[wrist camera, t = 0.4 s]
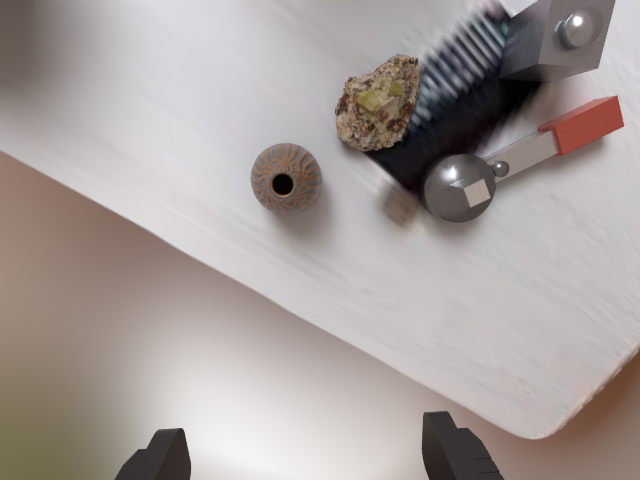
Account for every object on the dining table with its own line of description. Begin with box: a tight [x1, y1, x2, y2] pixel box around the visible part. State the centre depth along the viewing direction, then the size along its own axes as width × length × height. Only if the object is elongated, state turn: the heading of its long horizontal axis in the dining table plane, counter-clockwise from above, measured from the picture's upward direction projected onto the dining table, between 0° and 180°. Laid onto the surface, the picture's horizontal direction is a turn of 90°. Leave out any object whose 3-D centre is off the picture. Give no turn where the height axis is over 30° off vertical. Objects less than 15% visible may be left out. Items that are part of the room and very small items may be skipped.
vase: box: [251, 143, 322, 215], centre depth 32 cm, size 7×7×9 cm
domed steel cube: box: [499, 0, 615, 82], centre depth 30 cm, size 5×5×7 cm
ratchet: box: [419, 96, 624, 222], centre depth 33 cm, size 7×21×6 cm, turn 116°
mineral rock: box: [335, 54, 421, 152], centre depth 33 cm, size 11×4×8 cm
